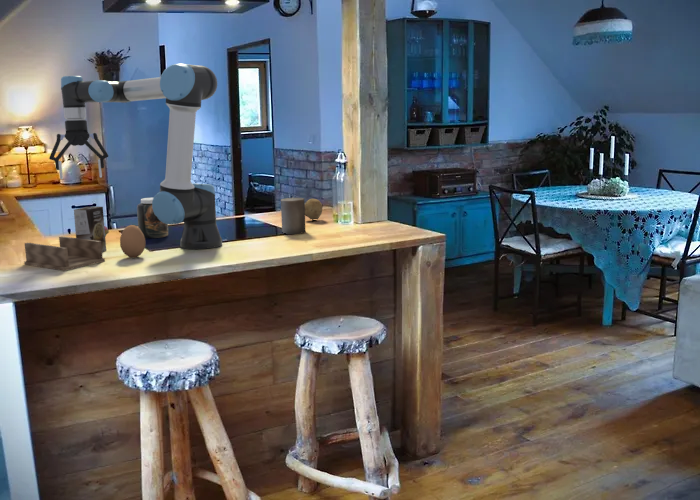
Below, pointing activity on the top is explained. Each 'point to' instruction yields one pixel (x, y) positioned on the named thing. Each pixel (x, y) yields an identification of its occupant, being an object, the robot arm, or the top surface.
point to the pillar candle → (293, 215)
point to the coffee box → (90, 224)
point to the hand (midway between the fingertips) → (81, 178)
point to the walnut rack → (64, 254)
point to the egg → (132, 241)
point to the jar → (150, 220)
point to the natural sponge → (313, 208)
